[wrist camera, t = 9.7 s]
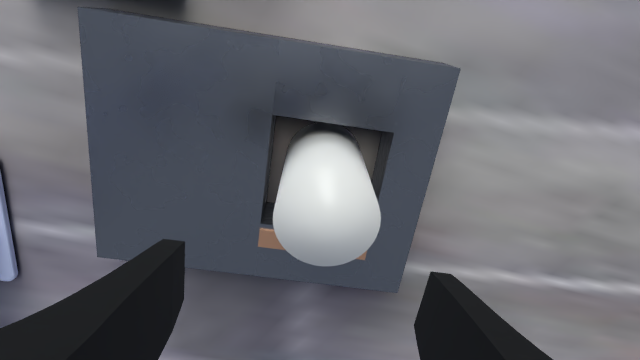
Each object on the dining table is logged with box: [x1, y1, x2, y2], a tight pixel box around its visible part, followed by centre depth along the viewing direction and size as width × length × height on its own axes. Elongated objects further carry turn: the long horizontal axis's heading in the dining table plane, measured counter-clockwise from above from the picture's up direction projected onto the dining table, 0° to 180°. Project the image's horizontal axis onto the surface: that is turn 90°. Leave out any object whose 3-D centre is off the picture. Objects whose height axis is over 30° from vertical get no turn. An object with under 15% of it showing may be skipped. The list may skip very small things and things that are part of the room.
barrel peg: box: [273, 122, 381, 266], centre depth 17 cm, size 4×4×7 cm
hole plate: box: [78, 7, 460, 293], centre depth 19 cm, size 16×12×3 cm
